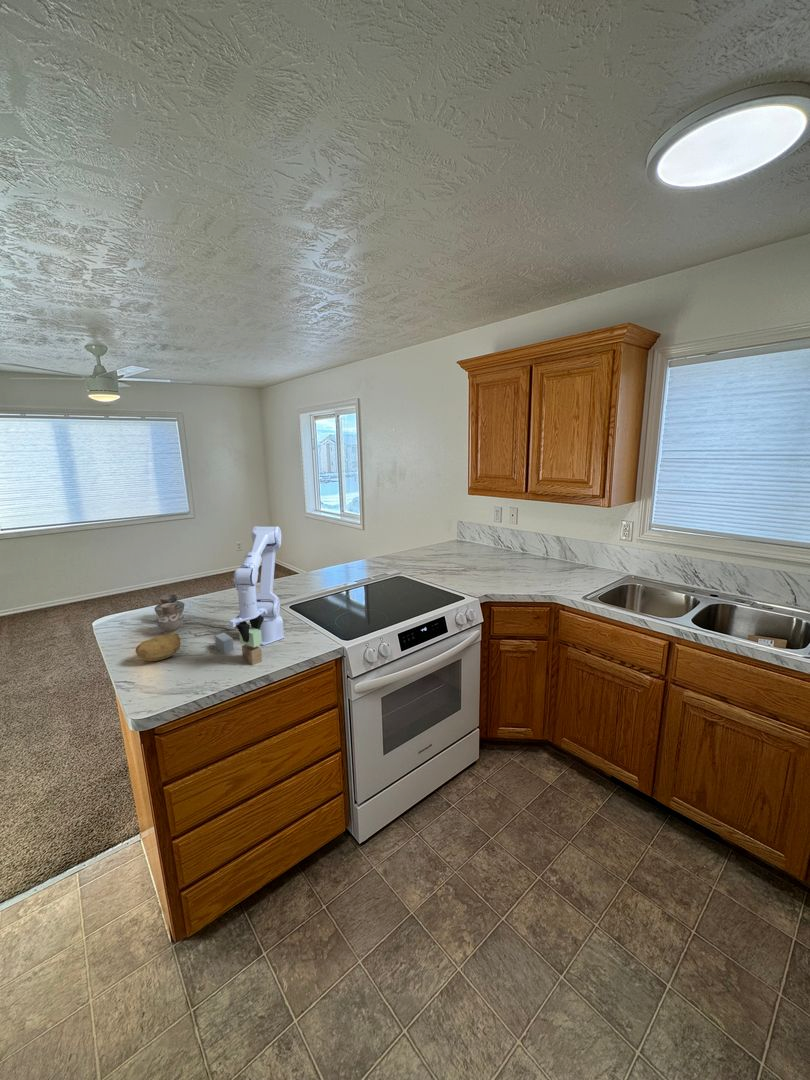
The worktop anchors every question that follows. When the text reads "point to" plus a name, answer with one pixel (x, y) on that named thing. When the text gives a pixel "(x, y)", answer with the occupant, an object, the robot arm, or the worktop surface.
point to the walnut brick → (252, 654)
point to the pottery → (169, 614)
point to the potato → (158, 647)
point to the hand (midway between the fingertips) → (250, 639)
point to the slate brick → (224, 643)
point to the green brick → (253, 637)
